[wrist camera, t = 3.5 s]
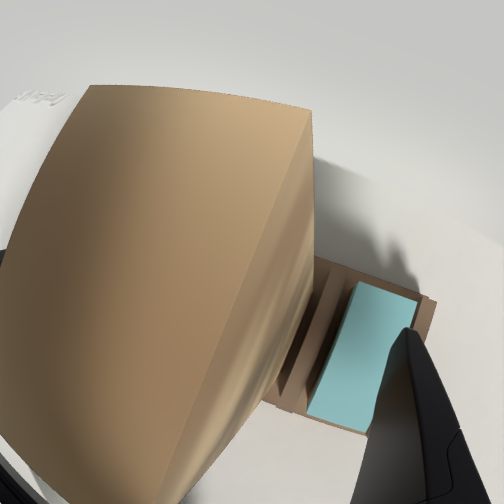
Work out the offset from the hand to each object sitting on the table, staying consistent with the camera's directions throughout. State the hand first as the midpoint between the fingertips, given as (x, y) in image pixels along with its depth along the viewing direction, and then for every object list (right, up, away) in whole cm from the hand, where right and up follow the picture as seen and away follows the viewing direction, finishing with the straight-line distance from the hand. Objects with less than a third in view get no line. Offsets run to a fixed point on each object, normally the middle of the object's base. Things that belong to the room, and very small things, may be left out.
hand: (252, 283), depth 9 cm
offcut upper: (+5, -4, +4) cm, 7 cm away
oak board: (+1, -3, +7) cm, 7 cm away
